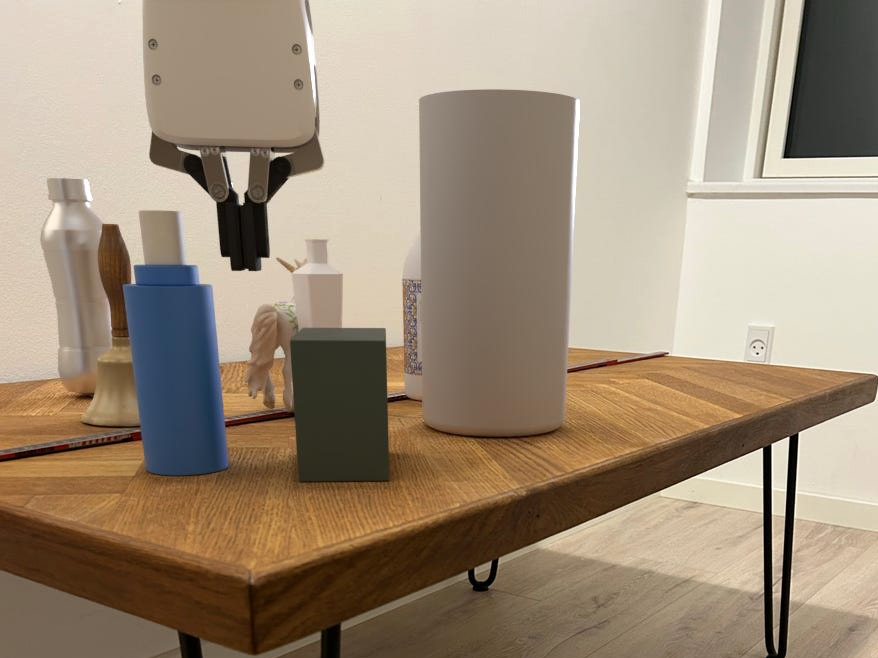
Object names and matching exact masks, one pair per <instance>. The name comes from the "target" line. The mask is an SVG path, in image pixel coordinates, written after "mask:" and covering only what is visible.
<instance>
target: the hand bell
mask: <svg viewBox="0 0 878 658" xmlns="http://www.w3.org/2000/svg"><path fill="white" fill-rule="evenodd" d="M98 267H99V273H100V278H101V282H102V285H103V288H104V290H105V293H106V295H107V298H108V301H109V306H110V316H111V327H112V330H111V334H112V348H111V349H110V350H109V351H107V352H106V353H105V354H103V355H101V356H99V358H98V360H97V366H98V372H97V386H96V391H95V395H94V396H93V398H92V400H91V402H90V404H89V406H88V408H86V410H85V411H84V412H83V413H82V415H81V417H80V421H81V422H82V423H85V424H88V425H92V426H102V427H140V419H139V411H138V403H137V395H136V387H135V379H134V371H133V363H132V355H131V347H130V339H129V331H128V323H127V316H126V308H125V300H124V292H123V285H125V284H132V265H131V257H130V253H129V250H128V248H127V245H126V242H125V240H124V238H123V235H122V233H121V229H120V226H119V224H117V223H104V224H102V232H101V237H100V241H99V247H98Z"/></svg>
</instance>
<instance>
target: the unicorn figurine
mask: <svg viewBox="0 0 878 658" xmlns="http://www.w3.org/2000/svg"><path fill="white" fill-rule="evenodd" d="M275 260H276V261H277V262H279V264H281V265H282V266H283V267H284V268H285V269H286V270H287V271H289V273H290V274H291V273H293V272H294V271H296V270H297V269H299V268H301V267H302V266H304V265H305V264H307V257H306V258H304V259H303V262H301V261H299V260H298V259H296V258H293V262H294V263H295V265H296V266H297V267H295V266H294V265H292V264H291V263H289V262H287V261H286V260H284V259H282V258H281V257H278V256H277V257H275ZM250 332H251V338H252V339H251V342H250V345H249V347H248V351H249V353H250V354H251V355H250V359H249V360H248V361H247V362H246V365H248V367H247V369H246V372H245V373H246V374H245V376H244V382H245V383H247V390H248V397H252V399H253V400H256V398H257V397H258V392H261V393H262V397H263V398H262V404H263V406H264V407H266V408H267V409H271V410H274V409H275V408H276V402H277V401H276V400H277V399H276V395H275V385H274V382H273V380H272V378H271V375H270V371H271V370H272V368H273V367H274V362H275V361H274V360H275V353H276V350H277V349H279V348H280V349H282V351H283V354H284V365H283V368H282V371H281V373H282V378H283V382H284V389H283V391H282V403H283V405H284V408H285V411H286V412H287V414H291V413H294V398H293V382H292V367H291V351H290V340H291V339H292V338H293V337H294V336H295V335H296V334H297V333H298V332H299V328H298V321H297V313H296V305H295V297H294V296H293V298H292V299H291V300H290V301H278V302H274V303H272V304H270V303H264V304H261V305H260V306H258V308H257V310H256V312H255V315H254V317H253V322H252V324H251V327H250Z"/></svg>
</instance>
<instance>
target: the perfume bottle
mask: <svg viewBox="0 0 878 658" xmlns="http://www.w3.org/2000/svg"><path fill="white" fill-rule="evenodd" d="M303 240H304V242H305V244H306V245H305V246H306V258H307V264H305V265H304V266H302V267H301V268H299V269H297V270H296V271H294V272H293V273H291V272H290V275H291V280H292V289H293V297H295V305H296V313H297V321H298V328H299V331H300V330H301V329H302V328H343V293H344V291H343V289H344V287H343V286H344V280H343V279H344V273H343V272H342V271H340V270H339V269H337V268H336V267H334V266H333V265H332V264H330V262H329V259H330V258H329V241H330V239H329V238H304V239H303Z"/></svg>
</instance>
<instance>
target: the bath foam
mask: <svg viewBox="0 0 878 658" xmlns="http://www.w3.org/2000/svg"><path fill="white" fill-rule="evenodd" d="M401 281H402V282H401V283H402V285H401V286H402V329H403V335H402V337H403V374H404V376H403V377H404V378H403V379H404V395H405V396H406V397H407V398H408V399H411V400H414V401H421V402H422V325H421V232H420V230H419V231H418V232H417V234H416V236H415V237H414V239H413V241H412V243H411V245H410V247H409V249H408V250H407V254H406V255H405V259H404V263H403V267H402V279H401Z"/></svg>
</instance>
